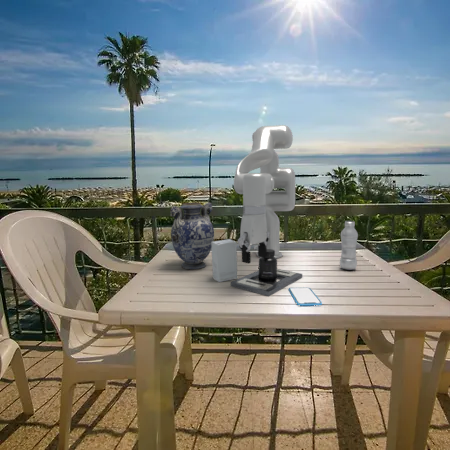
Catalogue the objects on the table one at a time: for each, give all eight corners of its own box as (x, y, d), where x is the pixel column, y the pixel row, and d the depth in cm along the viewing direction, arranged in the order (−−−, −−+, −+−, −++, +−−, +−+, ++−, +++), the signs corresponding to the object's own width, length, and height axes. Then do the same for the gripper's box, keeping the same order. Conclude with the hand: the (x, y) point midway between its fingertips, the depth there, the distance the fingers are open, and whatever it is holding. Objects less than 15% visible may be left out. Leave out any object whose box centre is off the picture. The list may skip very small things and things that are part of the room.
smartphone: (309, 287, 111) (322, 303, 96) (309, 290, 111) (322, 307, 96) (288, 287, 111) (297, 303, 96) (287, 291, 111) (297, 307, 96)
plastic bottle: (358, 272, 128) (360, 222, 125) (340, 271, 130) (342, 222, 127) (355, 267, 135) (357, 220, 132) (338, 266, 136) (340, 220, 133)
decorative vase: (184, 276, 127) (181, 206, 123) (162, 266, 141) (158, 203, 137) (225, 265, 140) (224, 202, 136) (201, 258, 155) (199, 200, 150)
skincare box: (230, 275, 127) (230, 238, 125) (238, 279, 122) (237, 241, 120) (211, 278, 124) (210, 240, 122) (218, 282, 119) (217, 243, 116)
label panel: (230, 286, 115) (230, 281, 115) (267, 270, 133) (267, 266, 133) (268, 296, 105) (268, 291, 104) (302, 277, 123) (302, 273, 122)
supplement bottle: (265, 286, 114) (265, 253, 112) (254, 280, 120) (254, 249, 118) (280, 282, 117) (281, 251, 115) (269, 277, 123) (270, 247, 121)
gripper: (259, 207, 117) (259, 253, 120) (229, 212, 104) (230, 263, 107) (277, 208, 112) (276, 256, 115) (248, 213, 99) (248, 267, 102)
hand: (254, 259), depth 111 cm, fingers open, 9 cm apart
